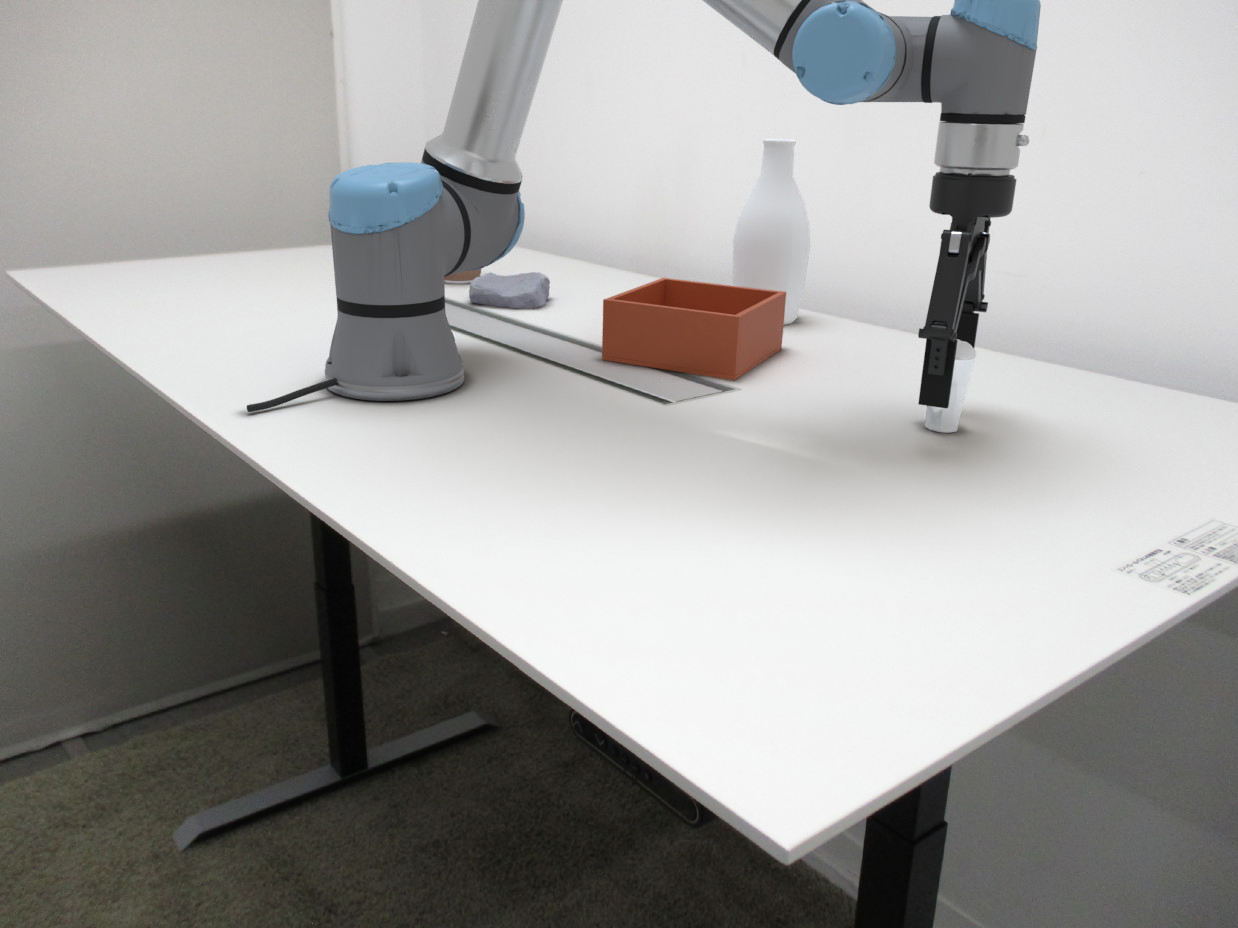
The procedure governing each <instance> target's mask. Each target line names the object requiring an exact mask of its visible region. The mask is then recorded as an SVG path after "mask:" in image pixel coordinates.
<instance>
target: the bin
mask: <svg viewBox="0 0 1238 928" xmlns="http://www.w3.org/2000/svg"><path fill="white" fill-rule="evenodd" d="M785 302H786V292H782V291H774V290H765V289H756V288H748V287H739V286H733V285H728V284H720V283H711V282H704V281H695V280H686V279H676V278H670V277H669V278H668V277H661V278H659V279H655V280H653V281H651V282H647V283H645V284H642V285H639V286H637V287H634V288H631V289H629V290H626V291H623V292H620V293H618V294H615V295H612V296H610V297H607V298H603V299H602V335H601V337H602V339H601V340H602V342H601V343H602V346H601V360H602V361H607V362H613V363H620V364H626V365H633V366H637V367H639V366H640V367H646V368H650V369H651V368H652V369H659V370H664V371H671V372H678V373H684V374H690V375H696V376H704V377H710V378H716V379H723V380H727V381H737V380H738V379H739V378H741V377H742V376H743V375H745V374H747V373H748V372H749V371H751V370H752V369H754V368H756V367H757V366H758V365H760V364H762V363H763V362H765V361H766V360H768V359H769V358H770V357H772V356H773V355H775V354H777V353H778V352H780V351H781V350H782V347H783V338H784V337H783V336H784V326H785V325H784V314H785Z"/></svg>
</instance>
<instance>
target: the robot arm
mask: <svg viewBox="0 0 1238 928" xmlns="http://www.w3.org/2000/svg"><path fill="white" fill-rule="evenodd" d="M701 1H702V2H704V3H705V5H707V6H709V7H710V8H711V9H713V10H714V11H715V12H716V13H718V14H719V15H721V17H723V18H724V19H726V20H727V21H728V22H729V23H730V24H732V25H733V26H735V27H736V28H737V29H739V30H740V31H741V32H743V33H744V34H745V35H747V37H749V38H751V39H752V40H753V41H754V42H756V43H757V44H758V45H759V46H760V47H762V48H763V49H765V50H766V51H767V52H768V53H770V54H771V55H773V57H775V58H776V59H777V60H779V62H780V63H782V64H783V65H784V66H785V67H786V68H787V69H789V70H790V71H791V72H792V73H794V74H795V75H796V77H797V79H798V81H799V83H800V84H801V85H802V87H803V88H804V89H805V90H806V91H807V92H808V93H810V95H812V96H814V97H816V98H817V99H820V100H821V101H823V102H824V103H827V104H829V105H830V104H831V105H836V106H845V105H854V104H857V103H924V104H933V103H940V104H941V105H940V106H941V107H940V108H941V109H940V110H941V111H940V116H939V122H938V128H937V136H936V144H935V151H934V159H933V164H934V166H937V167H939V171H936V172H935V174H934V175H932V181H931V189H930V198H929V209H930V211H931V212H932V213H934V214H938V215H943V216H945V215H946V216H950V217H951V223H950V225H949V229H942V233H941V235H940V240H941V241H940V248H939V254H938V259H937V264H936V269H935V274H934V279H933V284H932V289H931V292H930V293H931V294H930V299H929V304H928V309H927V314H926V318H925V323H924V326H923V328H921V327H920V328H918V334H917V335H918V339H925V340H926V341H925V347H924V356H923V364H922V371H921V379H920V387H919V396H918V402H917V403H918V405H920V406H926V407H927V406H933V407H940V408H948V407H949V400H950V392H951V385H952V378H953V370H954V363H955V356H956V348H957V341H958V340H961V341H965V342H968V343H969V344H970V345H971V346H972V347H973V348H974V349H975V348H976V347H975V346H976V340H977V332H978V325H979V319H980V313H987V311H988V307H989V302H987V301H984V300H985V296H986V295H985V282H986V271H987V259H988V249H989V246H990V242H991V234H990V227H991V226H992V220H991V218H992V219H993V218H1002V217H1007V216H1009V215H1010V214H1011V213H1012V210H1013V206H1014V199H1015V194H1016V186H1017V180H1018V179H1017V178H1015V177H1016V176H1015V175H1013V174H1010V173H1011V171H1012V170H1015V169H1017V168H1018V167H1019V161H1020V156H1021V149H1020V147H1027V146H1028V145H1029V144H1030V138H1029V135H1027V134H1021V133H1022V132H1023V131H1024V128H1025V127H1024V124H1025V122H1026V115H1027V111H1028V104H1029V99H1030V92H1031V86H1032V79H1033V74H1034V68H1035V61H1036V55H1037V50H1038V38H1039V37H1038V36H1039V26H1040V17H1041V6H1042V5H1041V0H954V1H953V6H952V8H951V9H950V14H942V15H933V16H911V15H909V16H907V15H906V16H904V15H903V16H902V15H900V16H899V15H887V14H884V13H882V12H879V11H877V10H876V9H875V8H874V7H873V8H872V6H870V5H869V4H867V3H866V2H865V1H864V0H701ZM563 2H564V0H477V4H476V8H475V10H474V11H475V12H474V15H473V19H472V23H471V26H470V30H469V34H468V39H467V42H466V45H465V49H464V51H463V56H462V60H461V64H460V68H459V72H458V75H457V77H456V78H457V79H456V83H455V86H454V90H453V94H452V97H451V100H450V105H449V108H448V112H447V115H446V119H445V124H444V128H443V131H442V133H441V134H439V135H436V136H435V137H433V138H431V139H430V140H428V141H426V142H425V146H424V150H423V154H422V157H421V161H420V162H407V161H406V162H383V163H380V164H368V165H362V166H357V167H353V168H350V169H346V170H345V171H342V172H340V173H339V174H337V175H336V176H335V177H334V178H333V180H332V181H331V183H330V186H329V207H328V212H327V213H328V214H327V217H328V222H329V224H330V236H331V237H330V238H331V249H332V259H333V261H332V262H333V272H334V283H335V284H334V285H335V297H336V310H337V316H336V317H337V318H336V323H335V327H334V329H333V330H334V331H333V334H332V337H331V338H332V339H331V342H330V347H329V353H328V358H327V359H326V362H325V369H324V378H325V380H324V381H321V382H318V383H315V384H312V385H309V386H306V387H303V388H300V389H297V390H295V391H291V392H289V393H287V394H283V395H282V396H278V397H275V398H273V399H269V400H266V401H261V402H256V403H250V404H247V405H246V410H247V413H253V412H258V411H263V410H267V409H271V408H275V407H278V406H280V405H284V404H287V403H289V402H291V401H294V400H296V399H299V398H302V397H304V396H307V395H310V394H314V393H317V392H319V391H323V390H326V389H328V390H329V391H330V392H332V393H334V394H337V395H340V396H342V397H345V398H351V399H356V400H364V401H377V402H378V401H379V402H395V401H397V402H399V401H412V400H419V399H420V400H421V399H426V398H430V397H431V398H432V397H436V396H440V395H444V394H447V393H450V392H452V391H454V390H456V389H458V388H459V387H460V386H462V385H463V383H464V382H465V366H464V362H463V358H462V356H461V355H460V353H459V350H458V347H457V343H456V339H455V336H454V333H453V331H452V329H451V326H450V325H451V324H450V323H449V320H448V317H447V311H446V296H445V295H446V291H445V282H444V277H446V276H450V275H454V274H457V273H461V272H464V271H471V270H477V269H481V270H482V269H484V268H485V267H488V266H490V265H492V264H494V263H496V262H498V261H499V260H501V259H503V258H504V257H505V256H507V255H508V254H509V253H510V252H511V251H512V250H513V249H514V248H515V247H516V245H517V243H518V241H519V240H520V237H521V235H522V233H523V229H524V225H525V217H526V216H525V215H526V213H525V211H526V210H525V203H524V202H522V198H521V195H522V194H521V192H520V189H521V186H522V182H523V178H524V174H523V172H522V170H521V167H520V166H519V163H518V161H517V160H516V159H517V157H516V156H517V155H518V154H517V153H518V150H519V148H520V143H521V141H522V137H523V134H524V130H525V127H526V124H527V121H528V117H529V114H530V111H531V107H532V105H533V100H534V98H535V94H536V92H537V91H536V90H537V88H538V84H539V81H540V77H541V75H542V72H543V68H544V65H545V61H546V58H547V56H548V55H547V54H548V53H549V52H548V51H549V48H550V45H551V41H552V37H553V35H554V31H555V28H556V25H557V22H558V18H559V15H560V11H561V8H562V5H563ZM956 339H958V340H956Z"/></svg>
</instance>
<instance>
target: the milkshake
mask: <svg viewBox="0 0 1238 928" xmlns="http://www.w3.org/2000/svg"><path fill="white" fill-rule="evenodd" d="M956 340H958V339H956ZM976 359H977V351H976V350H975V347H974V348H973V347H972V346H971V345H970V344H969V343H968V342H965V341H961V340H958V341H957V348H956V356H955V363H954V370H953V378H952V385H951V392H950V400H949V407H948V408H940V407H933V406H926V408H925V409H926V411H925V423H924V426H925V428H926V429H928V430H930V431H932V432H935V433H936V432H937V433H945V434H946V433H948V434H951V433H955V432H957V431H958V429H959V424H960V420H961V416H962V411H963V407H964V403H965V399H966V394H967V391H968V386H969V383H970V380H971V377H972V373H973V370H974V367H975V362H976Z"/></svg>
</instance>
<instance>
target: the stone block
mask: <svg viewBox="0 0 1238 928" xmlns="http://www.w3.org/2000/svg"><path fill="white" fill-rule="evenodd" d="M550 284H551V282H550V278H549V277H548V276H547V275H546V274H543V273H542V272H539V271H534V272H525V273H517V274H515V275H514V274H513V275H511V274H509V275H500V274H495V273H493V272H487V273H486V272H485V273H484V274H483V275H480V277H476V278H475V279H474V280H473V281H472V283H469V290H468V295H469V296H468V297H469V302H471V303H474V304H479V305H489V306H494V307H502V308H513V309H521V310H522V309H523V310H525V309H536V308H540V307H544V306H546V305H547V304H546V303H547V301H548V299H549V296H550Z"/></svg>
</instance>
